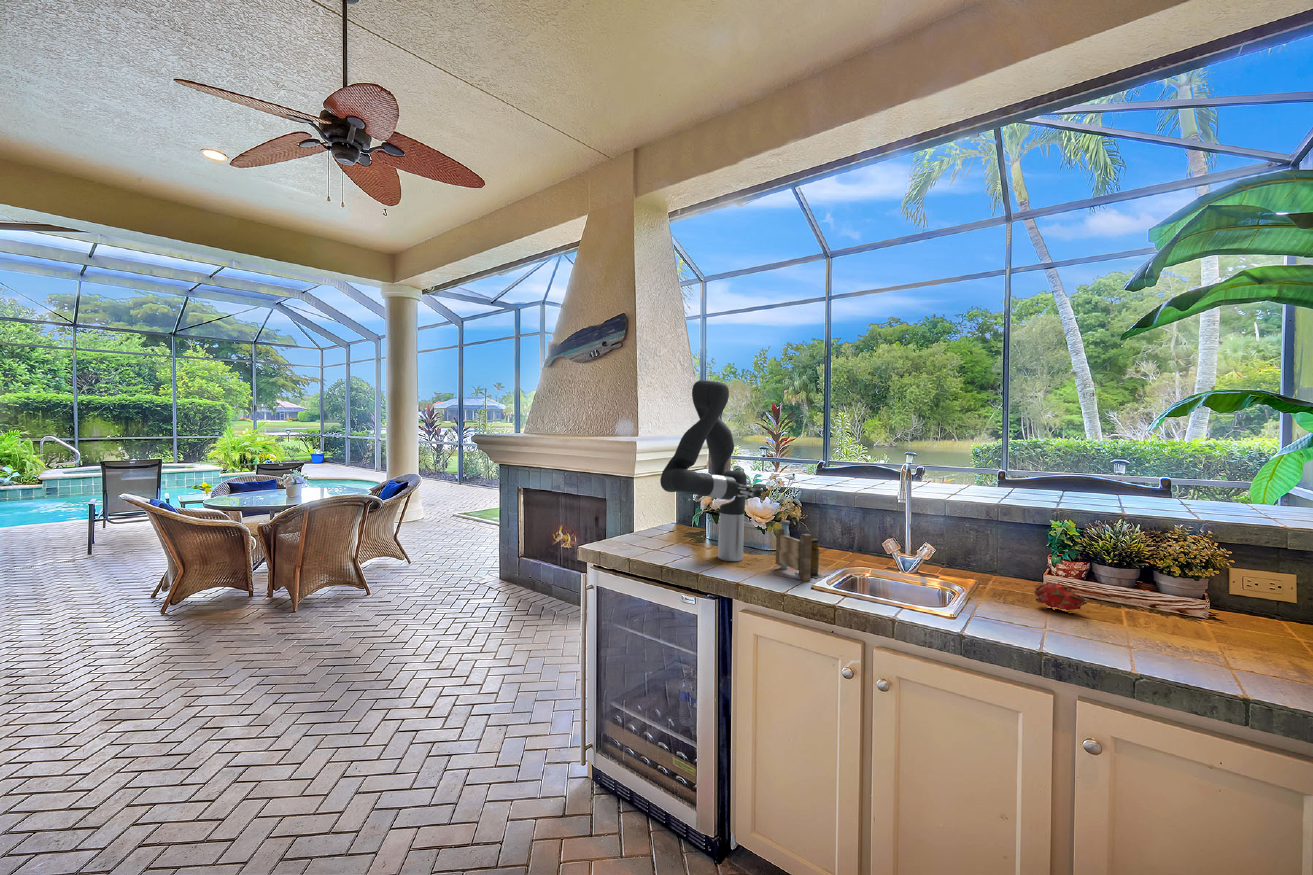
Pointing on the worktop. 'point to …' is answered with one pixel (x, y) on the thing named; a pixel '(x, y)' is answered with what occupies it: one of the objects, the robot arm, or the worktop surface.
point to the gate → (788, 550)
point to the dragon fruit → (1058, 596)
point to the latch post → (785, 527)
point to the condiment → (815, 560)
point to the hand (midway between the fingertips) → (760, 492)
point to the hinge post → (805, 557)
